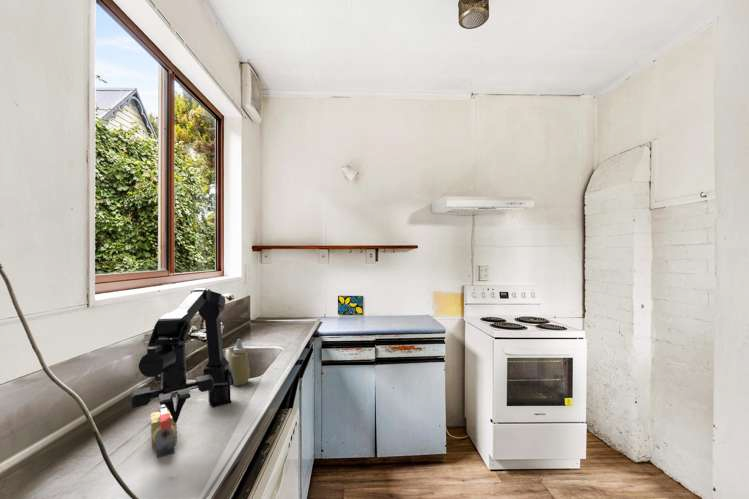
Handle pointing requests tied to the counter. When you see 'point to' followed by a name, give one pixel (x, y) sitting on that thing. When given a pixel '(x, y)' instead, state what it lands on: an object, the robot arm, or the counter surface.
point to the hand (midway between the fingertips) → (175, 421)
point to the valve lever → (164, 417)
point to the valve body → (163, 435)
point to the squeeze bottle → (240, 364)
